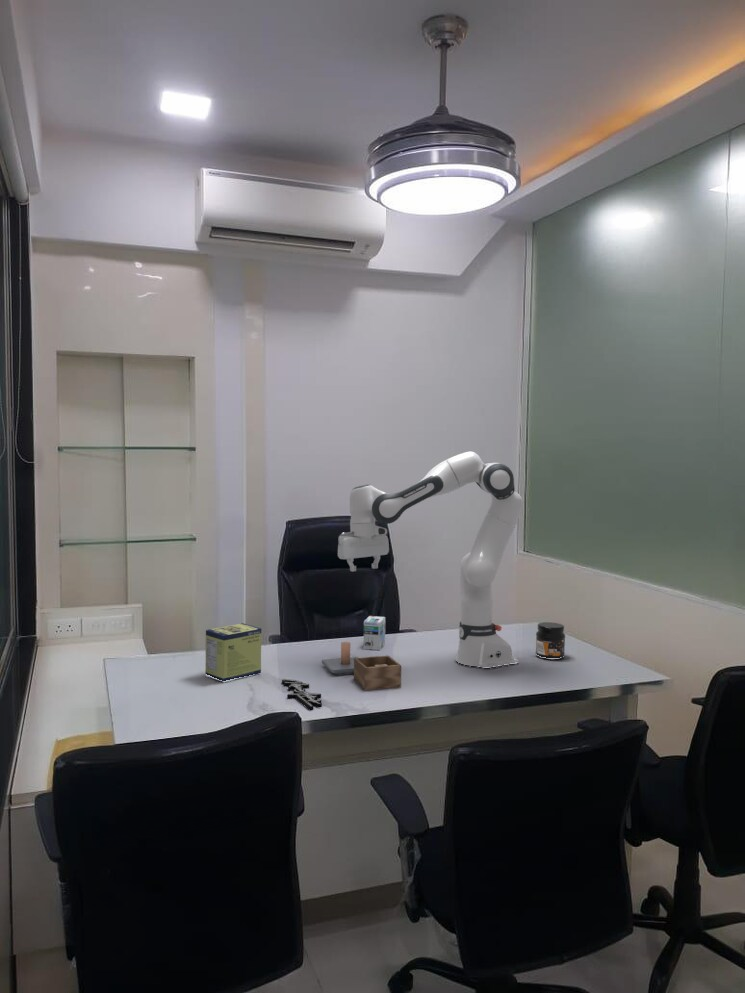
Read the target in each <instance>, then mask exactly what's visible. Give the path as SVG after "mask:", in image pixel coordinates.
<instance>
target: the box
mask: <svg viewBox="0 0 745 993" xmlns="http://www.w3.org/2000/svg"><path fill="white" fill-rule="evenodd" d="M353 680H354V681H355V682H356V683H357V684H358V685H359V686H360V687H361V688H362V689H363V690H364V691H370V690H371V691H373V690H382V689H383V690H385V689H394V688H401V687H402V664H400V663H399V662H397V661H396V660H395V659H394V658H392V657H391V656H390V655H378V656H377V655H376V656H366V657H364V656H363V657H359V658H354V674H353Z"/></svg>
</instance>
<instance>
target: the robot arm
mask: <svg viewBox="0 0 745 993" xmlns="http://www.w3.org/2000/svg"><path fill="white" fill-rule="evenodd" d="M470 483H471V484H472V483H476V484H477V485H478V487H479V488H480V489H481V490H483V491H484V492H486V493H487V494H490V496H491V503H490V506H489V508H488V510H487V512H486V515H485V516H484V518H483V520H482V523H481V525H480V527H479V529H478V531H477V534H476V537H475V540H474V543H473V546H472V548H471V550H470V552H468V553H467V554H465V555H464V556H463V558H462V559H461V561H460V565H459V566H460V573H459V574H460V577H459V578H460V621H459V627H458V638H459V641H458V649H457V653H456V656H455V660H456V661H457V662H458V663H457V662H456V661H455V662H456V663H457V664H459V663H461V664H464V665H463V666H465V665H470V666H469V667H471V666H480V667H493V666H498V665H504V664H510V663H515V662H518V663H519V659H518V658H517V657H515V656H514V655H513V650H512V647H511V644H510V643H509V642H508V641H507V640H505V639H504V638H502V637H501V636H500V635H499V634H498V633H497V632H501V631H502V629H503V628H502V627H503V626H501V625H499V624H495V623H493V594H492V593H493V592H492V583H493V582H494V581H495V578H496V574H497V573H498V569H499V568H500V565H501V562H502V559H503V556H504V554H505V551H506V547H507V545H508V543H509V541H510V539H511V537H512V535H513V533H514V530H515V528H516V526H517V524H518V522H519V519H520V517H521V513H522V511H523V510H522V509H523V505H524V500H523V497H522V496H521V495H520V494H519V492H517V491H515V477H514V474H513V471H512V470H511V468H510V467H508V466H507V465H506V464H503V463H500V462H484V461H483V460H482V458H481V457H480V456H479V454H478V453H476V452H475V451H465V452H462V453H458V454H456V455H454V456H451V457H449V458H447V459H444V460H443V461H441V462H440V463H438V464H437V465H434V467H433V468H430V470H429V471H428V472H427V473H426V475H425V476H424V477H423V478H422V479H421V480H420V481H418V482H417V483H414V484H412V485H410V486H409V487H407V488H405V489H403V490H401V491H399V492H395V493H389V492H385V491H382V490H380V489H379V488H376V487H375V486H373V485H372V484H363V485H358V486H355V487H353V488H352V490H350V493H349V494H350V495H349V513H350V520H349V526H350V527H349V529H350V531H348V532H341V534H339V535H338V545H337V558H339V559H340V560H346V562H347V564H348V566H349V571H350V572H357V565H354V563H353V562H354V559H359V558H368V557H373V559H374V560H373V563H371V569H373V570H374V569H378V568H379V563H380V560H381V556H385V555H388V554H389V552H390V547H389V546H390V544H389V543H390V542H389V538H388V529H387V528H385V527H382V526H378V525H376V521H377V522H379V523H380V524H385V525H388V524H392V523H394V522H396V521H398V519H399V518H400V517H401V515H402V514H403V513H404V512H405V511H407V509H410V508H411V507H413V506H415V505H417V504H420V503H421V502H423V501H425V500H427V499H429V498H432V497H437V496H443V495H445V494H449V493H451V492H454V491H456V490H458V489H460V488H462V487H464V486H466V485H468V484H470ZM514 659H516V660H514ZM461 664H460V665H461Z"/></svg>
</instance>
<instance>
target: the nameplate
mask: <svg viewBox="0 0 745 993" xmlns="http://www.w3.org/2000/svg"><path fill="white" fill-rule="evenodd" d="M281 684H282V685H283V687H285V686H286V687H287V688H288V690H287V691H288V692H291V691H293V692H292V693H289V694H287V695H286V696H287V697H286V698H287V700H290V699H291V700H293V699H295V700H296V699H297V701H298V703H300V704H301V703H302V704H303V705H302V704H301V705H302V706H304V705H305V706H306V707H307V708H308V709H307V708H306V707H305V706H304V707H305V708H306V709H307V710H309V709H310V710H309V711H314V707H316V708H318V707H323V704H322V699H321V698H322V693H314V692H308V691H306V689H310V683H304V682H303V681H300V680H296V679H282V680H281ZM292 698H293V699H292Z"/></svg>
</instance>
